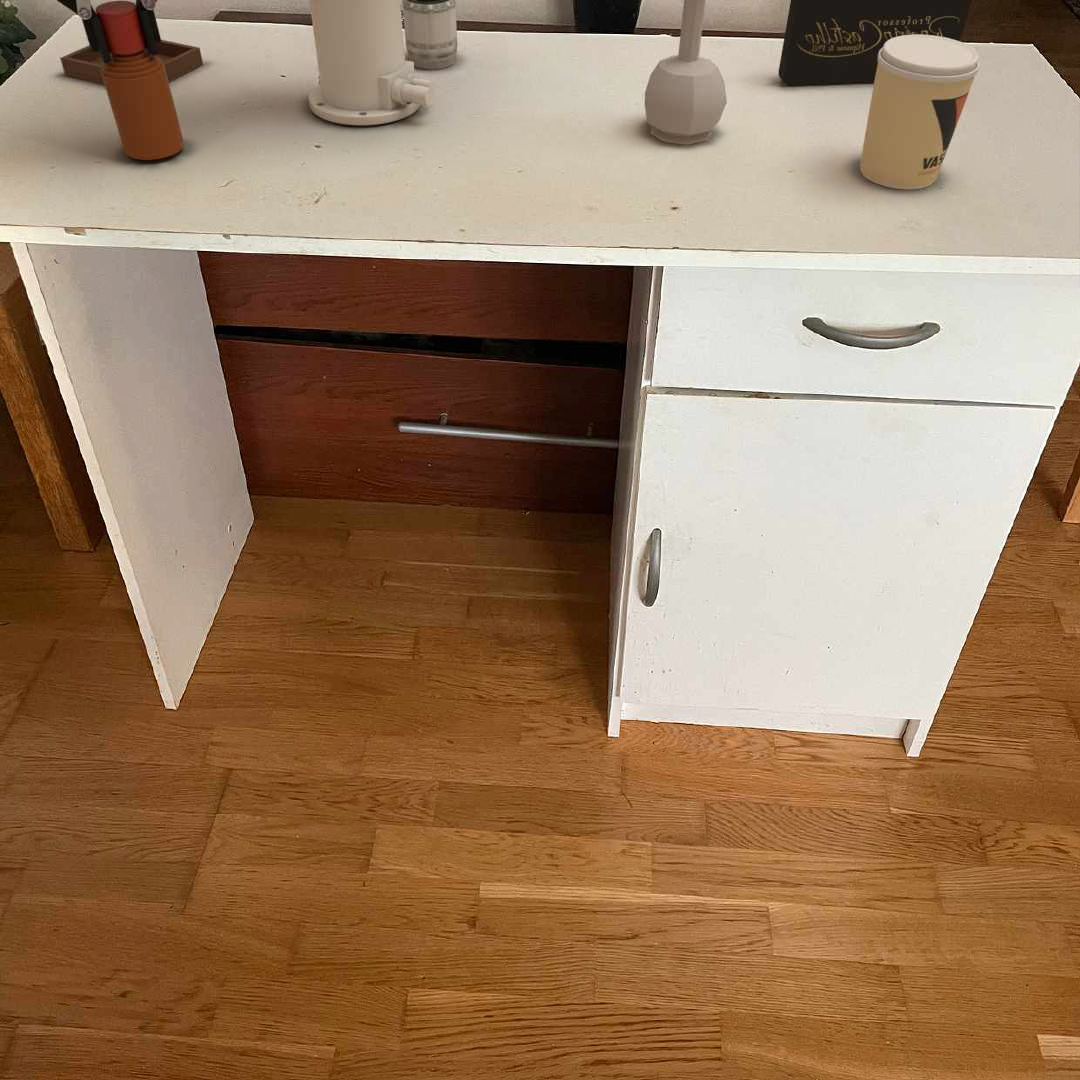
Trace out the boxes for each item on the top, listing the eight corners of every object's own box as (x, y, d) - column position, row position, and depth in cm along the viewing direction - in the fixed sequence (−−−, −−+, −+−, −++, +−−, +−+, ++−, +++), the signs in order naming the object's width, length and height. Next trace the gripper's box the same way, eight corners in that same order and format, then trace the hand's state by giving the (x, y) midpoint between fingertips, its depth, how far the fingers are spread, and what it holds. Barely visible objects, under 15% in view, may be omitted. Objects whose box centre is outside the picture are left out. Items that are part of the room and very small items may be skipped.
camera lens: (456, 51, 127) (453, -18, 121) (459, 69, 123) (457, -1, 117) (405, 52, 126) (400, -17, 121) (407, 71, 122) (402, 1, 116)
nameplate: (942, 74, 124) (967, -16, 116) (948, 80, 122) (975, -11, 115) (776, 80, 121) (792, -11, 114) (781, 86, 120) (797, -5, 113)
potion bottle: (730, 123, 112) (756, -60, 100) (705, 154, 107) (729, -35, 94) (656, 109, 115) (672, -71, 102) (627, 138, 109) (641, -48, 97)
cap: (124, 38, 100) (113, -2, 97) (155, 44, 99) (144, 3, 96) (98, 51, 97) (86, 10, 95) (129, 57, 96) (118, 16, 94)
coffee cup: (929, 202, 100) (967, 76, 91) (838, 178, 103) (866, 55, 95) (955, 167, 105) (993, 45, 97) (868, 145, 109) (898, 26, 100)
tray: (203, 64, 123) (199, 47, 121) (146, 94, 116) (141, 76, 115) (125, 48, 126) (120, 30, 125) (65, 75, 120) (59, 57, 118)
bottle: (196, 141, 106) (163, 7, 97) (157, 164, 102) (120, 28, 93) (151, 130, 108) (114, -2, 99) (111, 153, 104) (70, 18, 95)
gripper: (157, -189, 90) (205, 29, 103) (-44, -172, 85) (33, 55, 98) (175, -173, 86) (223, 53, 99) (-36, -153, 80) (44, 83, 94)
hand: (128, 52), depth 98 cm, fingers open, 3 cm apart
